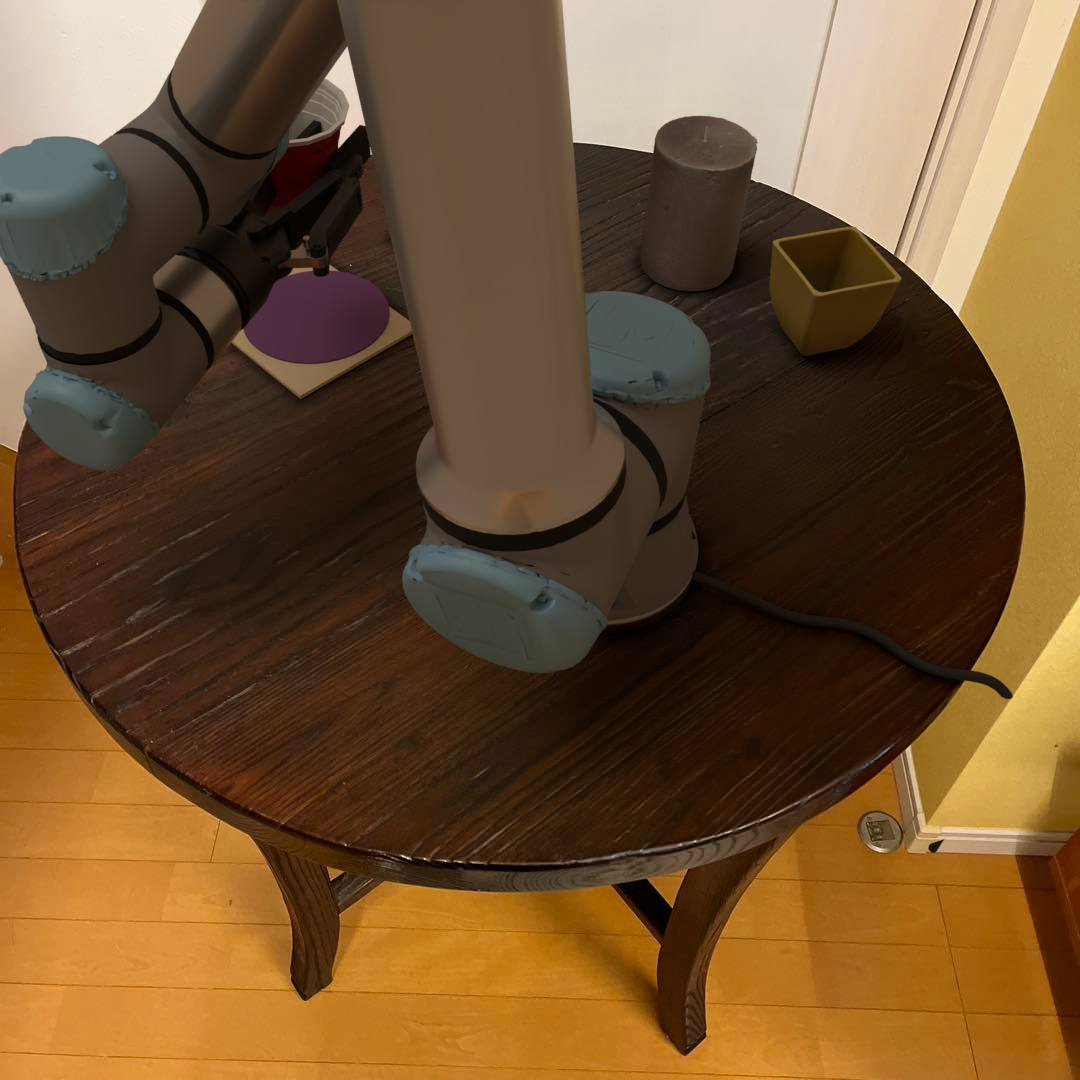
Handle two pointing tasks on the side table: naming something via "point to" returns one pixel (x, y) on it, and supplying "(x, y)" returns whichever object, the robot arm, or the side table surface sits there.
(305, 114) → the plastic cup
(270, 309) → the place mat
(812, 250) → the flower pot
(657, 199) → the pillar candle
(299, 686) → the side table surface
